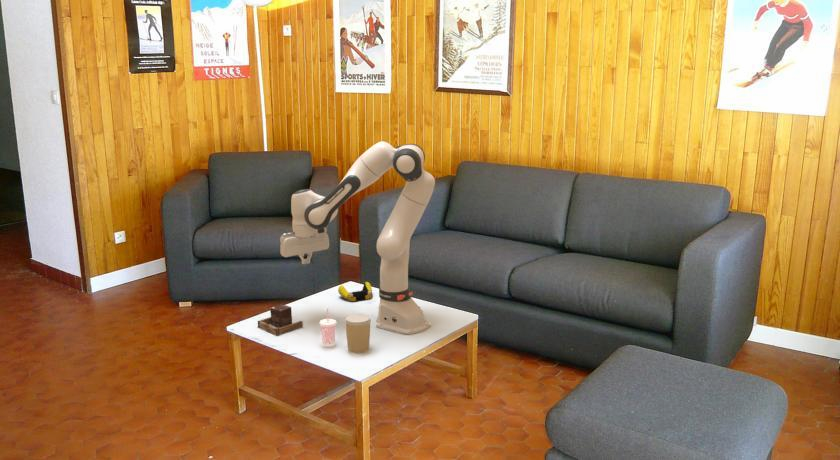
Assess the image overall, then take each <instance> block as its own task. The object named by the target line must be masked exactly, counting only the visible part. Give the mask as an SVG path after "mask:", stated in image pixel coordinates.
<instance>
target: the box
mask: <svg viewBox="0 0 840 460" xmlns="http://www.w3.org/2000/svg"><path fill="white" fill-rule="evenodd" d="M269 309H270V317H271V324H270V325H271V326H273V327H276V328H280V327H283V326H287V325H290V324H293V316H292V315H293V314H292V306H290V305H286V304H283V303H281V304H278V305H275V306H273V307H270V308H269Z"/></svg>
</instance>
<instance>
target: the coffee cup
mask: <svg viewBox="0 0 840 460" xmlns="http://www.w3.org/2000/svg"><path fill="white" fill-rule="evenodd" d="M371 320H372V319H371V317H370V316H369V315H368V314H365V313H351V314H349V315H347V316H345V319H344V323H345V331H346V333H345V335H346V343H347V349H348V351H349V352H350V353H354V354H361V353H365V352H367V351H369V349H370V336H371V335H370V334H371V323H372V321H371Z"/></svg>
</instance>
